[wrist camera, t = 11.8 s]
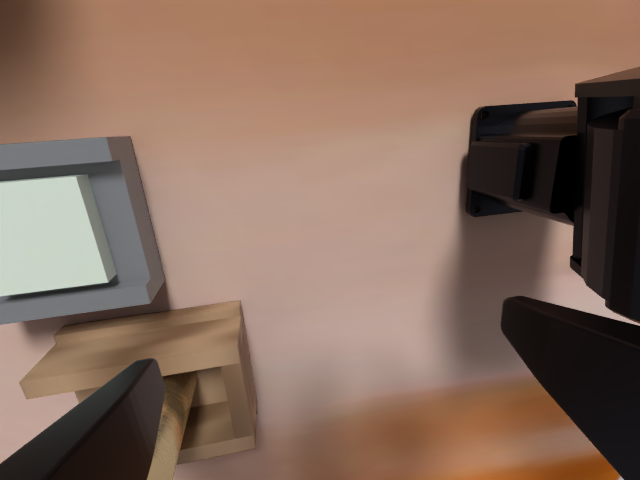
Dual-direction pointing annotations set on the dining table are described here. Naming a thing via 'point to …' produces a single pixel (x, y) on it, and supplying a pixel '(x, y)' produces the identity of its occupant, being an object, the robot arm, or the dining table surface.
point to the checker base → (116, 216)
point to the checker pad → (51, 235)
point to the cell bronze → (172, 424)
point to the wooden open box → (165, 369)
